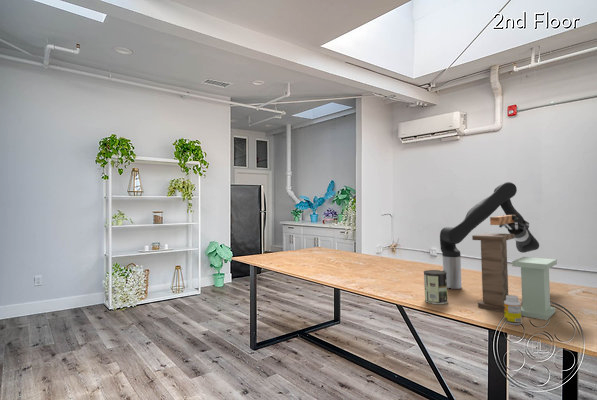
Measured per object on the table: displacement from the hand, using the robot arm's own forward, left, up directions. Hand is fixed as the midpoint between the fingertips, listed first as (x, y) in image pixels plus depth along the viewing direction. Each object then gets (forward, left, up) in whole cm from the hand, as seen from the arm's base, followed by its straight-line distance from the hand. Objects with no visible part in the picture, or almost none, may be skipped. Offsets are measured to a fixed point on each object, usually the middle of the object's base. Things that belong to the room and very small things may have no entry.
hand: (508, 216), depth 171 cm
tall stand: (-9, -19, -39) cm, 45 cm away
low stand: (+5, -26, -39) cm, 47 cm away
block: (-3, -6, -3) cm, 7 cm away
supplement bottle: (-6, -41, -40) cm, 57 cm away
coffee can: (-34, -18, -40) cm, 55 cm away
